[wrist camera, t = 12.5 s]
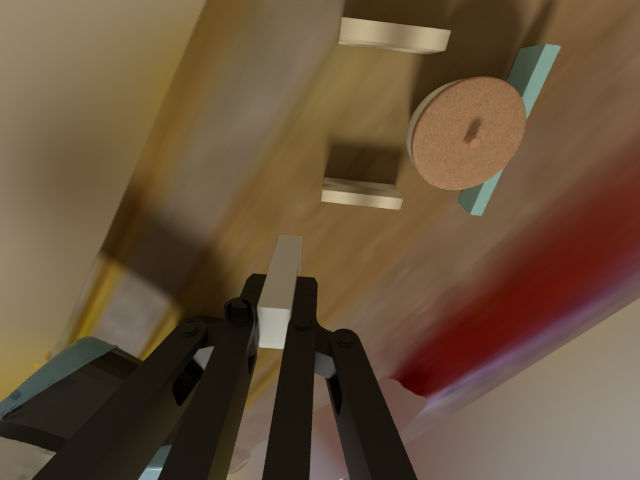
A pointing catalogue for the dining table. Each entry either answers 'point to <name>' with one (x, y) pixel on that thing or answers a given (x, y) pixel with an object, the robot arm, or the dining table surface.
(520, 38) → the dining table surface
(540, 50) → the bar
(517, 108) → the lidded jar
